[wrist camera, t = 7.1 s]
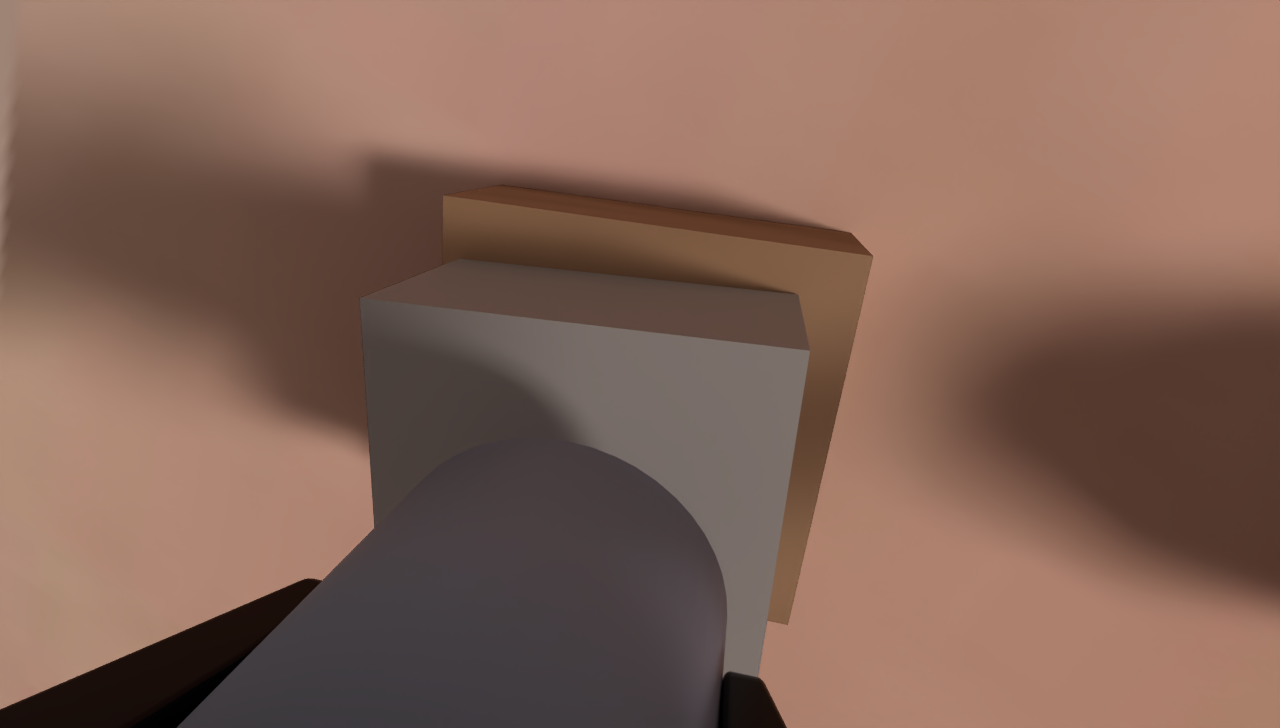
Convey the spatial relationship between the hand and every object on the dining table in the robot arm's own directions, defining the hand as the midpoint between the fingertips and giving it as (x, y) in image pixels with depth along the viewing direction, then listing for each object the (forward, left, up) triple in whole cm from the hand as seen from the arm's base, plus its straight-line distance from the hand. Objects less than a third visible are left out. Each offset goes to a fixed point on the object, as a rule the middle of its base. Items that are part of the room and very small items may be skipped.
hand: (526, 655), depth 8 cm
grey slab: (0, 0, -6) cm, 6 cm away
